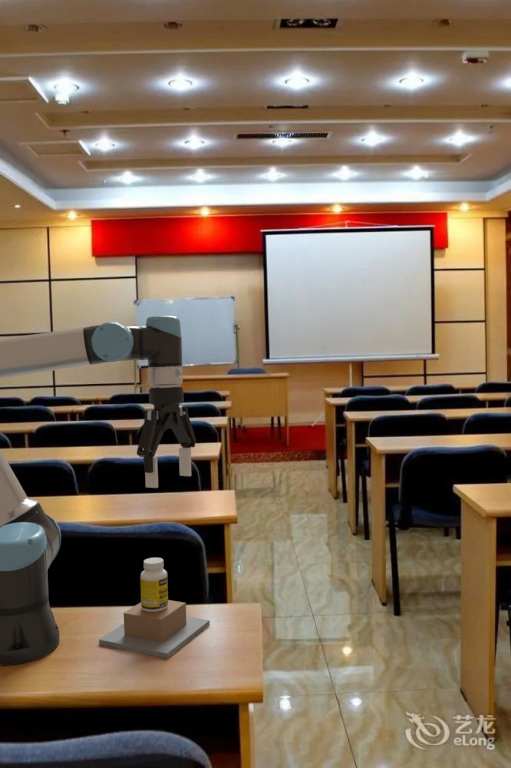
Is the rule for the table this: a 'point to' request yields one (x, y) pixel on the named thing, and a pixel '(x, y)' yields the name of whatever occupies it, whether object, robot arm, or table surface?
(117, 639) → the base
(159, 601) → the supplement bottle
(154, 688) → the table surface
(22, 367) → the robot arm
